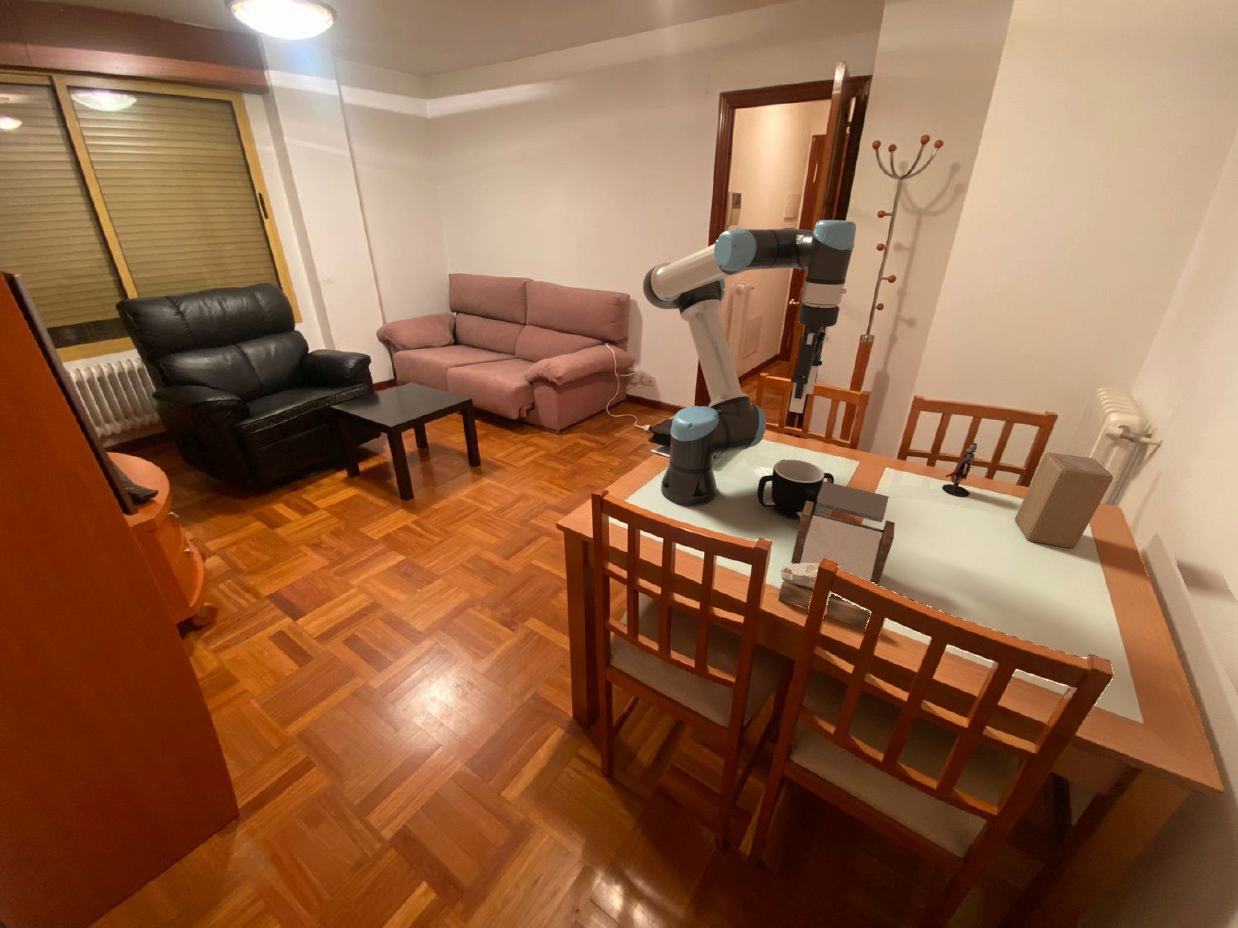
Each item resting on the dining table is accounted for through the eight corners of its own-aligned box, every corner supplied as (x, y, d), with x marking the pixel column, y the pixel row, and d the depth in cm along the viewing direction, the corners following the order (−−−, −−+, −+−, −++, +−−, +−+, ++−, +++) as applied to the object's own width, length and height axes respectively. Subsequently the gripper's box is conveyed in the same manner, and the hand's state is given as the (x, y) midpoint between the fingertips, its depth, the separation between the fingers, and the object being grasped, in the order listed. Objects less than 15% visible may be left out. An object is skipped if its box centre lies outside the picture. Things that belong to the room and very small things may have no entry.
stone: (829, 580, 106) (856, 614, 98) (774, 586, 105) (797, 622, 96) (837, 551, 103) (865, 585, 94) (780, 558, 101) (804, 592, 92)
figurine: (969, 499, 137) (989, 450, 130) (939, 492, 140) (957, 444, 133) (968, 488, 142) (987, 441, 135) (939, 482, 145) (956, 435, 138)
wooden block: (1058, 527, 125) (1095, 456, 116) (1076, 550, 117) (1117, 476, 108) (1012, 519, 128) (1044, 450, 119) (1026, 541, 120) (1061, 468, 110)
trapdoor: (799, 566, 107) (799, 563, 104) (821, 485, 112) (822, 480, 109) (867, 586, 101) (869, 584, 99) (887, 500, 106) (889, 496, 104)
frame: (778, 600, 101) (789, 548, 95) (795, 547, 116) (806, 500, 110) (872, 631, 94) (891, 578, 88) (878, 571, 109) (894, 522, 103)
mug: (778, 487, 141) (786, 449, 135) (834, 510, 131) (844, 470, 125) (747, 509, 131) (753, 469, 125) (804, 536, 121) (814, 493, 115)
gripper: (832, 316, 91) (809, 424, 101) (846, 297, 110) (826, 388, 120) (790, 312, 94) (772, 417, 104) (811, 294, 113) (794, 383, 123)
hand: (801, 402), depth 112 cm, fingers open, 13 cm apart
